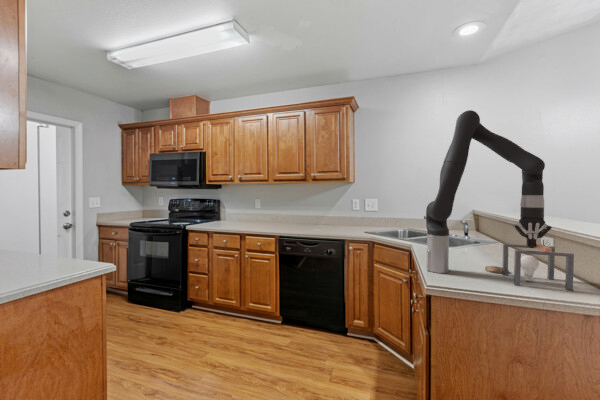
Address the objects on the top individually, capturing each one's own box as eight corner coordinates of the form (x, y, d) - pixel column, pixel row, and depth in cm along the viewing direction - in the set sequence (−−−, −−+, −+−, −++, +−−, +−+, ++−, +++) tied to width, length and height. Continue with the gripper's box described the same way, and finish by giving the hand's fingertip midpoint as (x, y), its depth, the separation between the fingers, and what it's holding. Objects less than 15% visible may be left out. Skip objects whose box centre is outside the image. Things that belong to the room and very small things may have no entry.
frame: (515, 285, 112) (516, 250, 111) (502, 274, 127) (503, 243, 126) (572, 291, 105) (573, 254, 105) (552, 278, 120) (552, 246, 120)
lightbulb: (542, 284, 113) (542, 257, 113) (524, 283, 114) (524, 256, 114) (532, 279, 119) (533, 254, 119) (515, 278, 120) (516, 253, 120)
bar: (545, 252, 108) (545, 247, 108) (528, 244, 123) (528, 241, 123) (551, 252, 107) (551, 248, 107) (533, 244, 122) (533, 241, 122)
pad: (487, 272, 129) (487, 270, 129) (482, 267, 138) (482, 265, 137) (511, 274, 126) (511, 272, 126) (504, 269, 134) (504, 267, 134)
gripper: (516, 206, 114) (515, 248, 115) (556, 206, 110) (555, 250, 110) (509, 205, 121) (509, 245, 122) (547, 206, 117) (546, 247, 117)
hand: (531, 247), depth 116 cm, fingers closed
